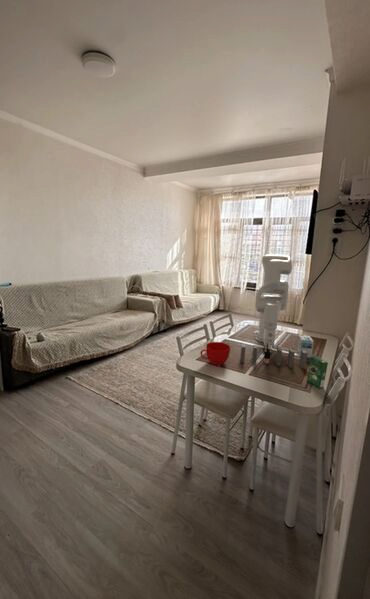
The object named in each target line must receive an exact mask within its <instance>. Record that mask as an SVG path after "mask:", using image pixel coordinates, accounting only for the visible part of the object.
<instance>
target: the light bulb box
mask: <svg viewBox="0 0 370 599" xmlns="http://www.w3.org/2000/svg"><path fill="white" fill-rule="evenodd" d="M314 342H315V341H314V340H313V338H312V337H311V336H310V335H305V334H298V341H297V350H296V351H297V353H298V355H299V356H300V355H301V350H305V351H306V352H307V358H308V359H311V356H313V350H314Z"/></svg>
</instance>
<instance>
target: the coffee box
mask: <svg viewBox="0 0 370 599" xmlns="http://www.w3.org/2000/svg"><path fill="white" fill-rule="evenodd" d="M309 359H310V361H309V367H308V374H307V380H306V381H307V382H309V383H310V384H312V385H314V386H315V387H317V388H319V389H323V388H324V386H325V382H326V381H325V380H326V376H327V370H328V364H329V362H328V361H326V360H324V359H322V358H320V357H318V356H317V355H312V356H311V358H309Z"/></svg>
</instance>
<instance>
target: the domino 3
mask: <svg viewBox="0 0 370 599" xmlns="http://www.w3.org/2000/svg"><path fill="white" fill-rule="evenodd" d="M267 346H268V345H267ZM267 348H268V347H267ZM265 349H266V347H265ZM264 354H265V351H264ZM269 361H270V359H264V358H263V362H264V364H269Z"/></svg>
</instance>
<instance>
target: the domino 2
mask: <svg viewBox="0 0 370 599" xmlns="http://www.w3.org/2000/svg"><path fill="white" fill-rule="evenodd" d="M257 358H258V345H256V344H252V354H251V364H255V365H257Z"/></svg>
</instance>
